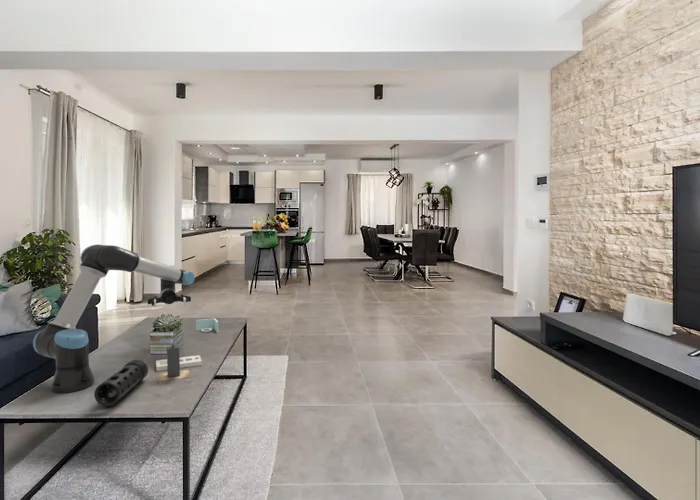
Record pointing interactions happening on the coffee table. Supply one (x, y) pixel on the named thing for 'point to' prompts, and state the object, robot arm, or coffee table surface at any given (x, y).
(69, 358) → the robot arm
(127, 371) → the muzzle brake
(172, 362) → the grey rectangular pillar
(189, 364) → the socket block
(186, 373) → the wooden board
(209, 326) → the l-shaped corner panel
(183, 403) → the coffee table surface
